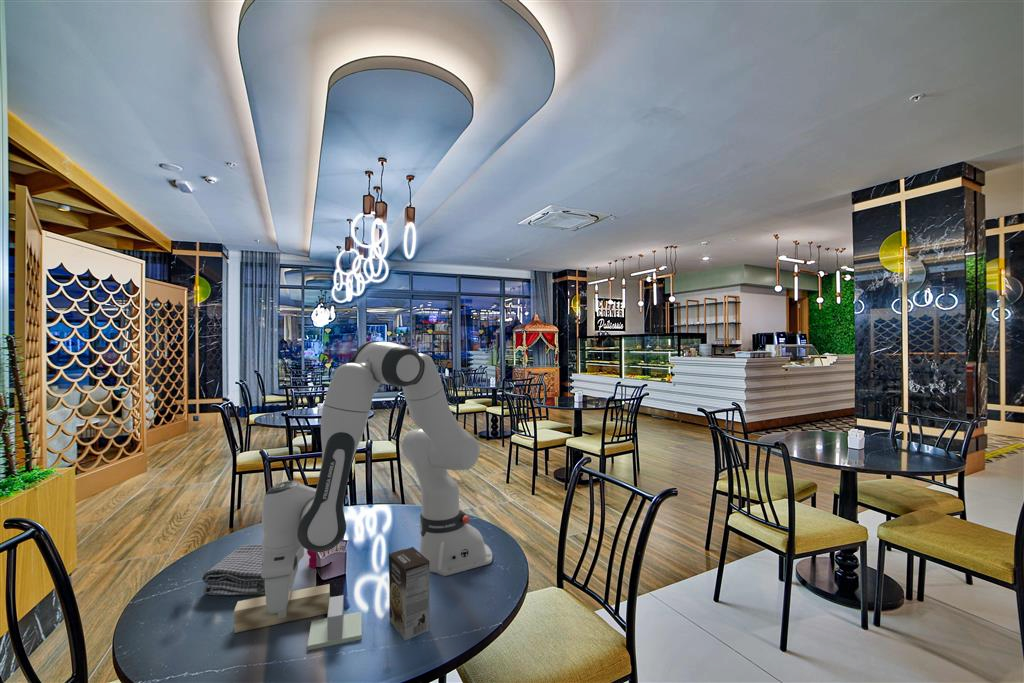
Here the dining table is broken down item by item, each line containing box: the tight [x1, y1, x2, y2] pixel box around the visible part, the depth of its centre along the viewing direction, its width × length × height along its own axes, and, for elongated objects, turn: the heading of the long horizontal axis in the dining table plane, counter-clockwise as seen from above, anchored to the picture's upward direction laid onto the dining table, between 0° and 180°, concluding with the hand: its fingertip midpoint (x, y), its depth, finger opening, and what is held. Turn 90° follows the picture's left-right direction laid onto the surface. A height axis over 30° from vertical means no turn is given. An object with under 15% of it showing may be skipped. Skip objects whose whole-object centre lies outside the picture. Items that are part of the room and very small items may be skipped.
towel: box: [201, 544, 265, 596], centre depth 124 cm, size 15×18×8 cm
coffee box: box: [388, 546, 431, 641], centre depth 105 cm, size 9×6×16 cm
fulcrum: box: [306, 594, 363, 651], centre depth 103 cm, size 11×9×6 cm
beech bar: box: [233, 583, 331, 634], centre depth 108 cm, size 20×4×5 cm, turn 111°
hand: (284, 609), depth 108 cm, fingers closed on beech bar, 4 cm apart
